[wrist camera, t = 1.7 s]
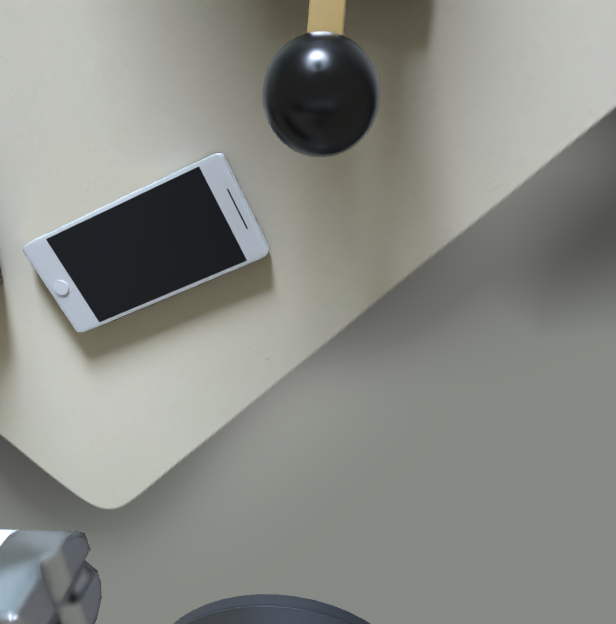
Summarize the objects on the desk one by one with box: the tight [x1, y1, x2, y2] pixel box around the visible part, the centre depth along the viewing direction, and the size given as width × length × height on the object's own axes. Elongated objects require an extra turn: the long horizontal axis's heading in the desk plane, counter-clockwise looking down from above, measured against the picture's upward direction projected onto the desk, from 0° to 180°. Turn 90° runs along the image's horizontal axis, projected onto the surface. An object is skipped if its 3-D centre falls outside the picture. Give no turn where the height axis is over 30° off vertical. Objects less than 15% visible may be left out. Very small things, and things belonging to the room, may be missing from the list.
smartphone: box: [23, 153, 269, 333], centre depth 37 cm, size 7×15×1 cm, turn 114°
